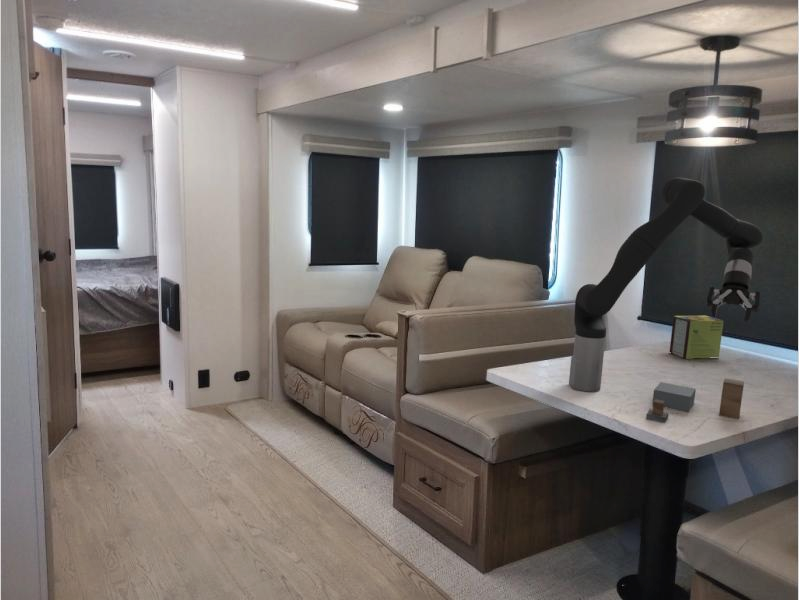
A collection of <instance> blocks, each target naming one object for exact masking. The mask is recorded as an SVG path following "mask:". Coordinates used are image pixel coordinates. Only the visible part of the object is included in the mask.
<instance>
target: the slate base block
mask: <svg viewBox="0 0 799 600" xmlns="http://www.w3.org/2000/svg"><path fill="white" fill-rule="evenodd" d="M696 391H697V388H693V387H689V386H684V385H678V384H673V383H668V382H662V381H660V382H659V384H658V385H657V386H656V387H655V388H654V389H653V395H652V403H651V404H653V402H654V400H655V399H657V400H662V401H665V402H664V408H665V407H667V408H666V409H670V408H671V409H670V410H674V409H675V411H681V412H685V413H690V410H691V409H692V408H693V406H694V405H695V398H696Z"/></svg>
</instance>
